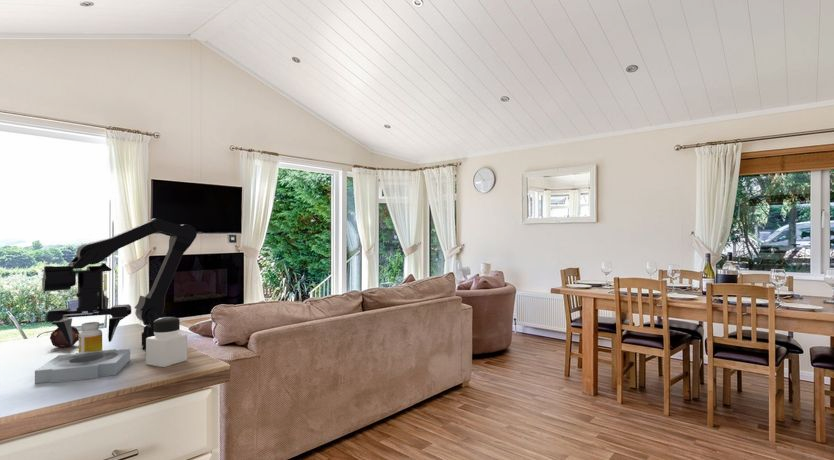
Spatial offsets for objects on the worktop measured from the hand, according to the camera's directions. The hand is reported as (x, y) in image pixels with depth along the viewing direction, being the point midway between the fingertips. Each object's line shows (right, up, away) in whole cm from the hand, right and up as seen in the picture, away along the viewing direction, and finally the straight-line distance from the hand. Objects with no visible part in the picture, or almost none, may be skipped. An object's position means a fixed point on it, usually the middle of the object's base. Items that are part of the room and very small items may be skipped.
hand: (90, 343), depth 122 cm
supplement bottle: (0, -4, 0) cm, 4 cm away
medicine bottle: (+25, -4, -5) cm, 26 cm away
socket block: (+8, -4, -12) cm, 15 cm away
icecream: (-17, -5, +12) cm, 21 cm away
